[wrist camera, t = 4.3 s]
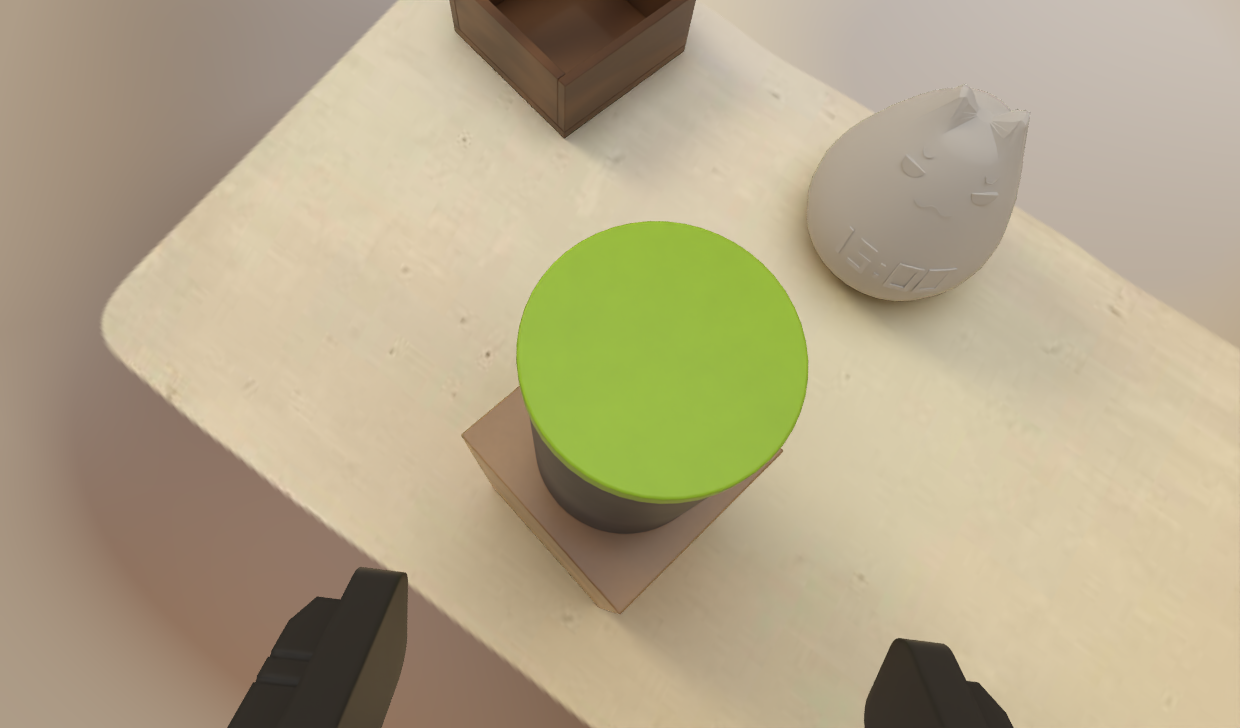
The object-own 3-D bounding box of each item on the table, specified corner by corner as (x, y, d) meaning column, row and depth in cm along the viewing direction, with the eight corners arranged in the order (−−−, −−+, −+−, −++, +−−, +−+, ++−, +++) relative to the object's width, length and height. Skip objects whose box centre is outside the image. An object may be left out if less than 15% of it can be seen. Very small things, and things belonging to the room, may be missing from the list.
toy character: (765, 273, 41) (846, 149, 29) (824, 135, 44) (918, -25, 32) (933, 349, 40) (1082, 252, 29) (980, 203, 43) (1132, 64, 32)
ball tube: (493, 436, 24) (453, 339, 15) (628, 321, 26) (666, 170, 17) (620, 578, 23) (662, 568, 14) (752, 448, 25) (867, 362, 16)
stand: (491, 485, 36) (460, 434, 24) (608, 383, 38) (629, 293, 26) (599, 608, 34) (619, 615, 23) (713, 495, 36) (784, 450, 25)
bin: (454, 30, 44) (442, -32, 40) (576, -48, 47) (578, -114, 42) (564, 138, 42) (565, 86, 38) (684, 50, 45) (698, -8, 41)
